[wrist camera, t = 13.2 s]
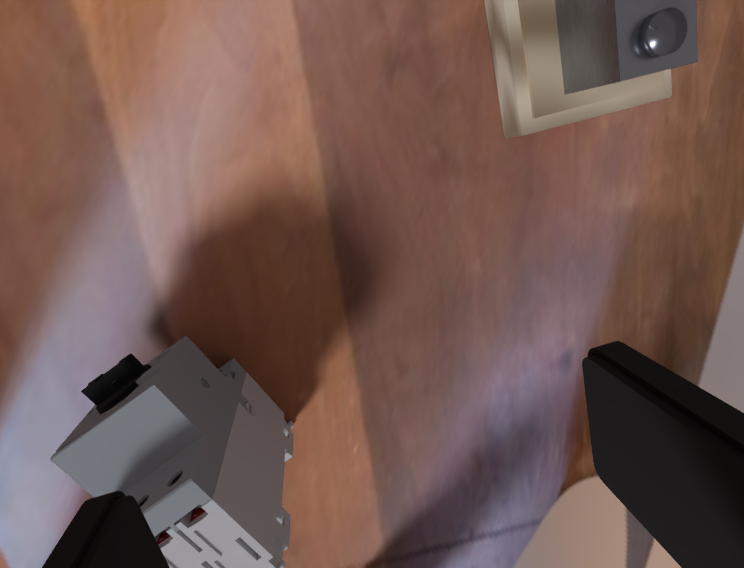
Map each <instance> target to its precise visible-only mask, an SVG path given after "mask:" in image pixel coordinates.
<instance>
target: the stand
mask: <svg viewBox="0 0 744 568" xmlns="http://www.w3.org/2000/svg"><path fill="white" fill-rule="evenodd" d="M484 2H485V8H486V15H487V22H488V29H489V35H490V42H491V49H492V56H493V62H494V69H495V76H496V83H497V89H498V96H499V103H500V110H501V116H502V123H503V130H504V137H505V138H506V137H516V136H523V135H527V134H531V133H535V132H539V131H543V130H546V129H550V128H554V127H558V126H562V125H565V124H569V123H573V122H577V121H581V120H585V119H588V118H592V117H596V116H600V115H604V114H607V113H611V112H615V111H619V110H623V109H627V108H630V107H634V106H638V105H642V104H646V103H650V102H653V101H657V100H661V99H665V98H669V97H672V88H671V69H668V70H664V71H660V72H656V73H652V74H648V75H644V76H640V77H636V78H633V79H629V80H625V81H621V82H617V83H612V84H608V85H604V86H600V87H596V88H592V89H587V90H583V91H579V92H575V93H571V94H566V95H565V94H564V84H563V74H562V65H561V55H560V46H559V36H558V27H557V17H556V8H555V0H484Z"/></svg>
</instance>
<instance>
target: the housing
mask: <svg viewBox="0 0 744 568" xmlns="http://www.w3.org/2000/svg"><path fill="white" fill-rule="evenodd" d="M555 8H556V17H557V27H558V36H559V46H560V55H561V65H562V74H563V84H564V94H565V95H566V94H571V93H575V92H579V91H583V90H587V89H592V88H596V87H600V86H604V85H608V84H612V83H617V82H621V81H625V80H629V79H633V78H636V77H640V76H644V75H648V74H652V73H656V72H660V71H664V70H668V69H672V68H676V67H680V66H684V65H688V64H692V63H696V62H698V55H697V9H696V0H555Z"/></svg>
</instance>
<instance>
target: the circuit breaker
mask: <svg viewBox="0 0 744 568" xmlns="http://www.w3.org/2000/svg"><path fill="white" fill-rule="evenodd" d="M81 392H82V393H83V394H85V395H86V396H87V397H88V398H89V399H90V400H91V401H92V402H93V403H95V406H94V407H93V408H92V409H91V410H90V412H89V413H88V414H87V415H86V416H85V417H84V419H83V420H82V421H81V422H80V423H79V425H78V426H77V427H76V428H75V429H74V430H73V432H72V433H71V434H70V435H69V436H68V438H67V439H66V440H65V441H64V442H63V443H62V445H61V446H60V447H59V448H58V449H57V450H56V451H57V452H56V453H55V454H54V455H53V456H52V457H51V458H50V459H51V461H52V462H53V463H55V464H56V465H57V466H58V467H59V468H60V469H62V470H63V471H64V472H65V473H66V474H68V475H69V476H70V477H71V478H72V479H73V480H75V481H76V482H77V483H78V484H79V485H80V486H82V487H83V488H84V489H85V490H86V491H87V492H89V493H90V494H91V495H92V496H93V497H98V496H101V495H105V494H108V493H111V492H115V491H122V492H123V493H124V494H125V495H126V496H128V495H131V496H133V497H134V498H135V499H136V501H137V503H138V505H139V507H140V509H141V511H142V513H143V515H144V517H145V519H146V521H147V523H148V525H149V527H150V529H151V531H152V533H153V535H154V537H155V539H156V541H157V543H158V545H159V547H160V549H161V551H162V553H163V555H164V557H165V559H166V561H167V563H168V565H169V567H170V568H285V566H286V563H285V562H284V561H282V556H283V551H285V550H286V549H287V548H288V547H289V535H290V515H289V514H288V513H287V512H286V511H285V510H284V509H283V508H282V493H283V478H284V462H285V461H287V460H288V459H290V458H291V457H292V456H293V433H292V432H291V431H290V429H291V428H292V427H293V426H294V424H293V422H292V421H289V422H288V423H287V422H286V421H285V420H284V413H283V411H282V410H281V409H280V408H279V407H278V406H277V405H276V404H275V403H274V401H273V400H272V399H271V398H270V397H269V396H268V395H267V394H266V393H265V392H264V390H263V389H262V388H261V387H260V386H259V385H258V384H257V383H256V382H255V380H254V379H253V378H252V377H251V376H250V375H249V374H248V373H247V372H246V371H245V369H244V368H243V367H242V366H241V365H240V364H239V363H238V362H237V361H236V360H235V358H233V359H231V360H230V361H228V362H227V363H226V364H224V365H223V366H221V367H220V368H219V369H217V368H216V367H215V366H214V365H213V363H212V362H211V361H210V360H209V359H208V358H207V357H206V356H205V355H204V354H203V353H202V352H201V351H200V350H199V349H198V347H197V346H196V345H195V344H194V343H193V342H192V341H191V340H190V339H189V338H188V337H187V336H185V337H183V338H182V339H180V340H179V341H178V342H176V343H175V344H174V345H172V346H171V347H169V348H168V349H167V350H165V351H164V352H162V353H161V354H160V355H158V356H157V357H156V358H154V359H153V360H151V361H150V362H149V363H148V364H146V365H144V366H143V365H142V364H141V363H140V362H139V361H138V360H137V359H136V358H135V357H134V356H133V355H132V354H129V355H128V356H126V357H125V358H123V359H122V360H121V361H120V362H119V363H118V364H117V365H116V366H115V367H113V368H112V369H110V370H109V371H108V372H106V373H105V374H104V375H103V374H101V375H100V376H99V377H97V378H96V379H94V380H93V381H92V382H90V383H89V384H88V386H87V387H86V388H85V389H83V390H82V391H81Z"/></svg>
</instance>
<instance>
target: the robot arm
mask: <svg viewBox="0 0 744 568" xmlns="http://www.w3.org/2000/svg"><path fill="white" fill-rule="evenodd" d="M582 367H583V375H584V384H585V393H586V401H587V410H588V419H589V427H590V436H591V445H592V453H593V462H594V466H595V469H596V472H597V474H598V476H599V477H600V479H601V480H602V481H603V482H604V484H605V485H606V486H607V487H608V488H609V489H610V490H611V491H612V492H613V493H614V495H615V496H616V497H617V498H618V499H619V500H620V501H621V502H622V503H623V504H624V505H625V507H626V508H627V509H628V510H629V511H630V512H631V513H632V514H633V515H634V516H635V517H636V518H637V520H638V521H639V522H640V523H641V524H642V525H643V526H644V527H645V528H646V529H647V530H648V531H649V533H650V534H651V535H652V536H653V537H654V538H655V539H656V540H657V541H658V542H659V543H660V545H661V546H662V547H663V548H664V549H665V550H666V551H667V552H668V553H669V554H670V555H671V556H672V557H673V559H674V560H675V561H676V562H677V563H678V564H679V565H680V566H681V567H682V568H744V413H742V412H741V411H739V410H737V409H736V408H734V407H732V406H730V405H729V404H727V403H725V402H723V401H722V400H720V399H718V398H717V397H715V396H713V395H712V394H710V393H708V392H706V391H705V390H703V389H701V388H699V387H698V386H696V385H694V384H693V383H691V382H689V381H687V380H686V379H684V378H682V377H681V376H679V375H677V374H675V373H674V372H672V371H670V370H669V369H667V368H665V367H663V366H662V365H660V364H658V363H657V362H655V361H653V360H651V359H650V358H648V357H646V356H644V355H643V354H641V353H639V352H638V351H636V350H634V349H632V348H631V347H629V346H627V345H626V344H624V343H622V342H619V341H615V342H612V343H608V344H605V345H602V346H598V347H595V348H592V349H590V350H589V352H588V357H587V358H584V359H583V362H582ZM42 568H170V567H169V565H168V563H167V561H166V559H165V557H164V555H163V553H162V551H161V549H160V547H159V545H158V543H157V541H156V539H155V537H154V535H153V533H152V531H151V529H150V527H149V525H148V523H147V521H146V519H145V517H144V515H143V513H142V511H141V509H140V507H139V505H138V503H137V501H136V499H135V498H134V497H133V496H131V495H128V496H126V495H125V494H124V493H123V492H122V491H115V492H111V493H108V494H105V495H101V496H98V497H95V498H91V499H89V500H87V501H85V502H84V503H83V504H82V506H81V507H80V509H79V510H78V512H77V514H76V515H75V517H74V518H73V520H72V521H71V523H70V525H69V526H68V528H67V529H66V531H65V532H64V534H63V536H62V537H61V539H60V540H59V542H58V543H57V545H56V546H55V548H54V550H53V551H52V553H51V554H50V556H49V557H48V559H47V561H46V562H45V564H44V565H43V567H42Z"/></svg>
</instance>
